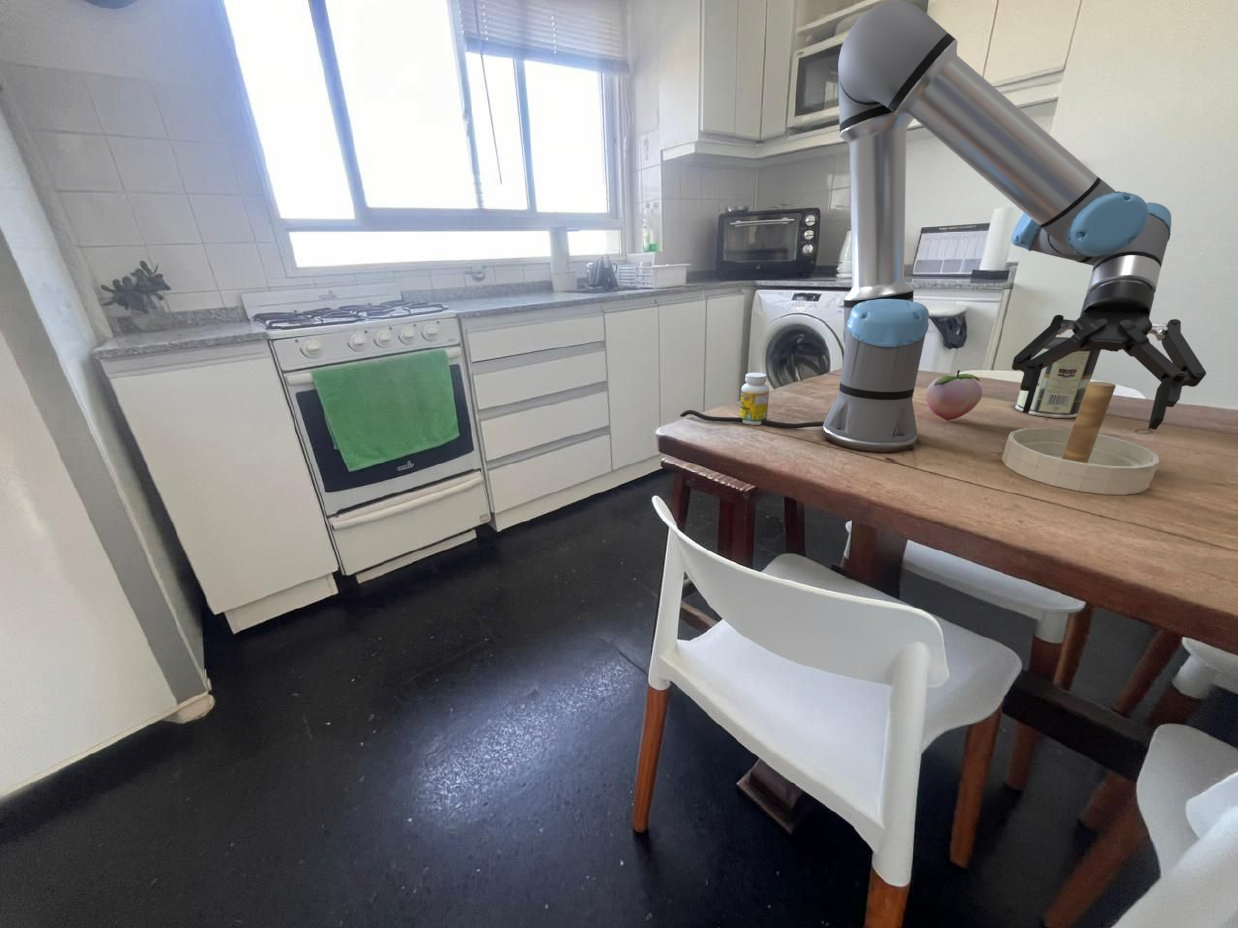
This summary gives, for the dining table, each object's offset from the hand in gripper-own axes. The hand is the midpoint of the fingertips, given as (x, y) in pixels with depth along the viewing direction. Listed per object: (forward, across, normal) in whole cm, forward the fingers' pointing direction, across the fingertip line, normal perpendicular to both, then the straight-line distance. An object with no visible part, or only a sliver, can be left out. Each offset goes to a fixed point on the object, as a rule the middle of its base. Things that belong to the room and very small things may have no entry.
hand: (1087, 416), depth 70 cm
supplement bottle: (+9, +49, -4) cm, 50 cm away
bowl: (+7, 0, -6) cm, 9 cm away
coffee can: (-19, +3, -32) cm, 37 cm away
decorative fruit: (-7, +18, -19) cm, 27 cm away
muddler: (+6, 0, -6) cm, 8 cm away
